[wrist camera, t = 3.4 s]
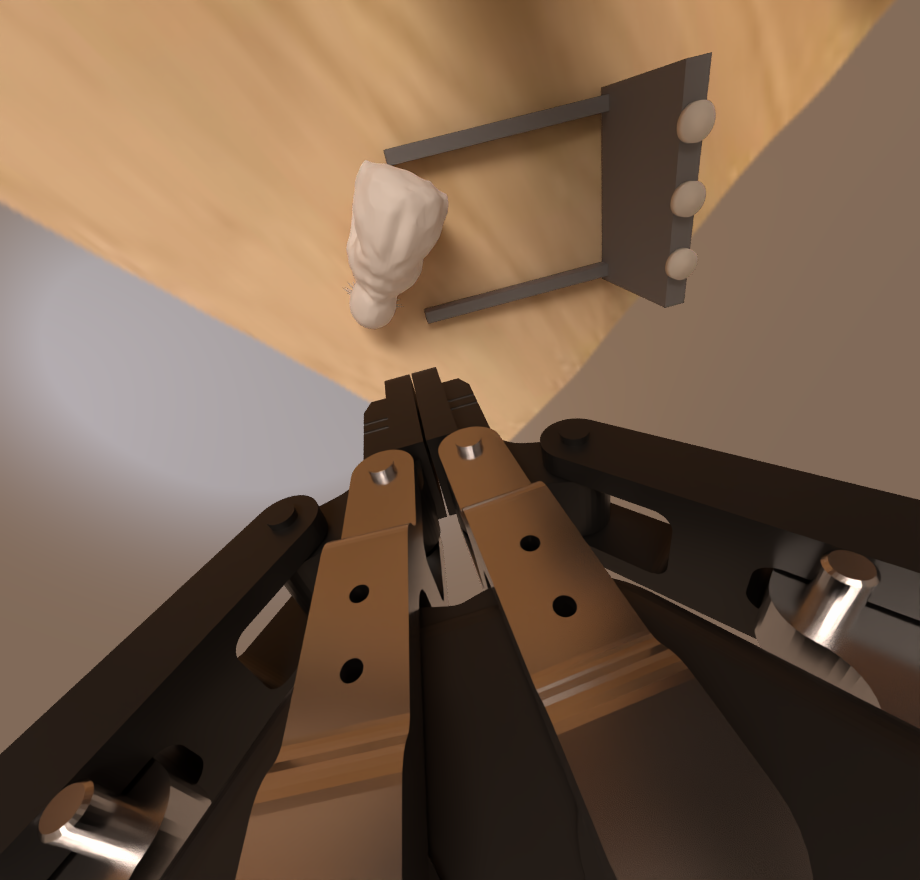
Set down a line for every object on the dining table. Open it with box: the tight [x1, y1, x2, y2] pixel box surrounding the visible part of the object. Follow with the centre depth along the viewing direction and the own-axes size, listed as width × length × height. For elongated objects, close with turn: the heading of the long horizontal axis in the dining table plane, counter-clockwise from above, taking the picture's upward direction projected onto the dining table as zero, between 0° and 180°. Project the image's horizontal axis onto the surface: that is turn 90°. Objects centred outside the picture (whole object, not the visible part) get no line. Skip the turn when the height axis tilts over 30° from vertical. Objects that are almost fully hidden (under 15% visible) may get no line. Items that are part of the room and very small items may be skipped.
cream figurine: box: [343, 160, 448, 329], centre depth 31 cm, size 6×8×12 cm
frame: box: [384, 52, 716, 324], centre depth 30 cm, size 19×14×11 cm
